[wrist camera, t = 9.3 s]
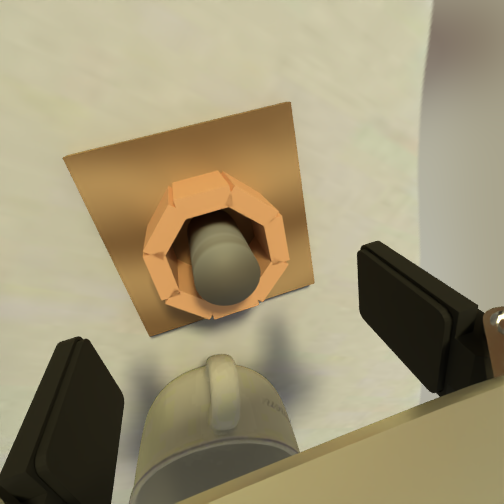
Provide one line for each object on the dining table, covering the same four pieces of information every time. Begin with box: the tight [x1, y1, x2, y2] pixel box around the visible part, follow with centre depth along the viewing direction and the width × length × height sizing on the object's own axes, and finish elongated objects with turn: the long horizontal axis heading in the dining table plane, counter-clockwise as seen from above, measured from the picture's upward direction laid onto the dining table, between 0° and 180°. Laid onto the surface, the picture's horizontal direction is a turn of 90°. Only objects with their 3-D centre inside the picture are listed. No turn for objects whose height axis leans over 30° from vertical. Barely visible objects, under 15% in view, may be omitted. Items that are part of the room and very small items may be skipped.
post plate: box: [63, 102, 314, 337], centre depth 17 cm, size 12×12×6 cm
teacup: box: [129, 354, 300, 504], centre depth 21 cm, size 14×11×8 cm
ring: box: [143, 170, 290, 320], centre depth 17 cm, size 7×7×4 cm
